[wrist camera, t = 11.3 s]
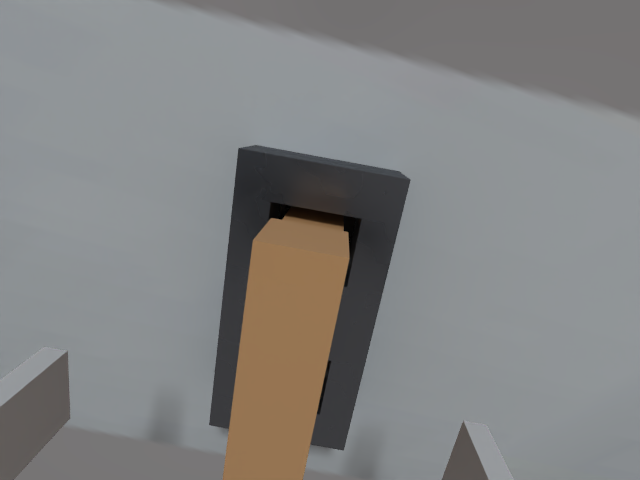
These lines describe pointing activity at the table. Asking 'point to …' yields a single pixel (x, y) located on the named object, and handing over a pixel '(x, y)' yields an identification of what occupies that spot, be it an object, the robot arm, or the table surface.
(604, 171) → the table surface
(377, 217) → the slotted gray block
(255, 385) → the notched wooden block
